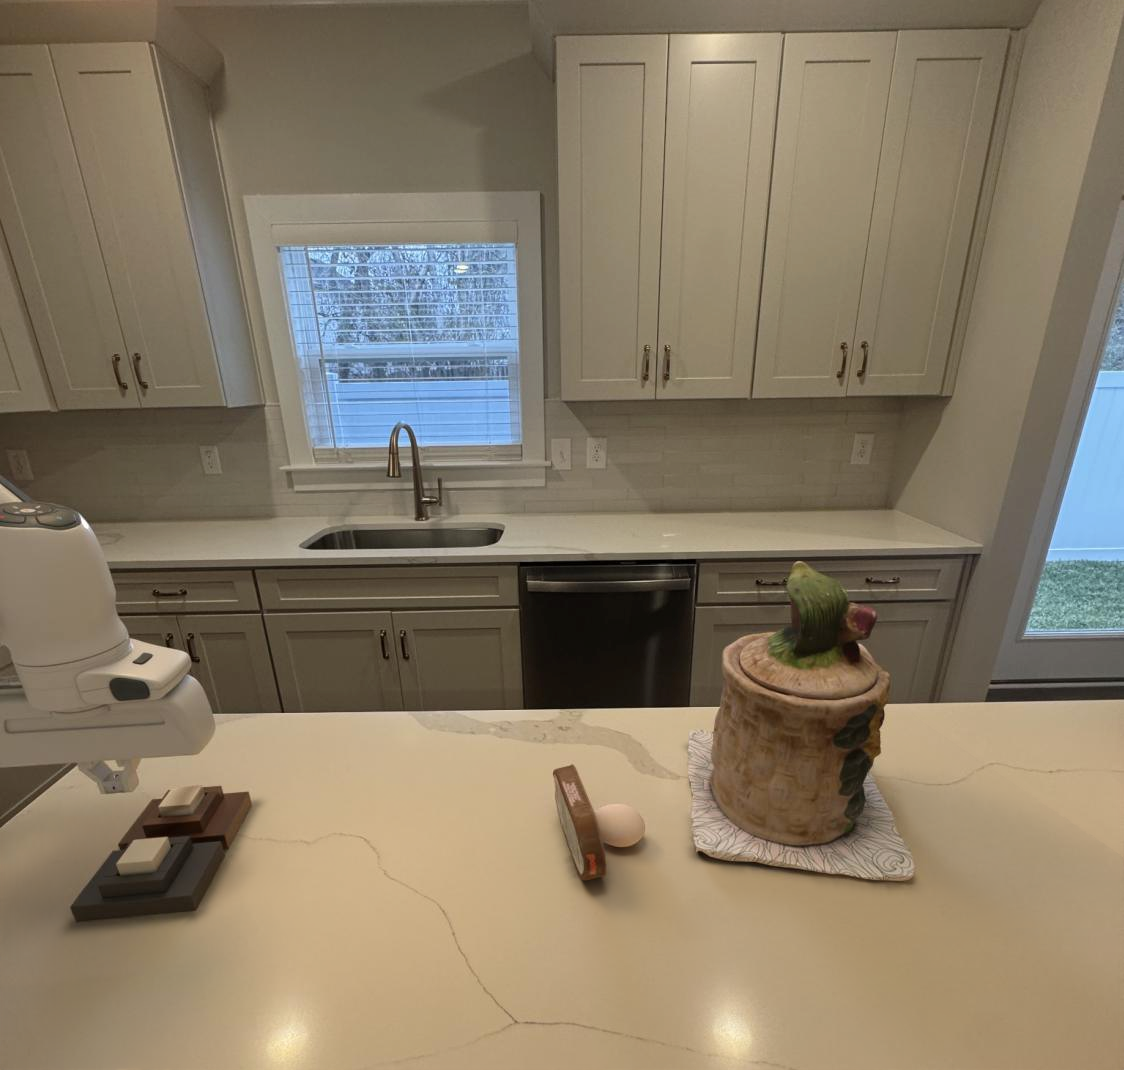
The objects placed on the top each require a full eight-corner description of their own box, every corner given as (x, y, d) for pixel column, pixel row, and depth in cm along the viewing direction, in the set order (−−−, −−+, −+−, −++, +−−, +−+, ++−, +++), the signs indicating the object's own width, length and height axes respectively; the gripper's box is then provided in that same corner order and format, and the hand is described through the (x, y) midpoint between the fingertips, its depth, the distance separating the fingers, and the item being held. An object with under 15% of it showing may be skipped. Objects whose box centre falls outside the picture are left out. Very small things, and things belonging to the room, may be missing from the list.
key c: (120, 876, 66) (115, 864, 65) (137, 851, 69) (133, 839, 68) (155, 873, 66) (151, 860, 65) (171, 848, 69) (167, 836, 69)
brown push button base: (122, 858, 73) (113, 832, 71) (156, 812, 80) (148, 787, 79) (228, 849, 74) (221, 822, 73) (252, 804, 81) (245, 780, 80)
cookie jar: (690, 862, 71) (711, 606, 59) (685, 740, 93) (700, 537, 81) (920, 888, 67) (993, 619, 55) (858, 755, 90) (900, 543, 78)
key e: (161, 818, 74) (157, 806, 73) (175, 798, 77) (172, 787, 77) (193, 816, 74) (189, 804, 74) (205, 796, 78) (202, 785, 77)
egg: (642, 859, 71) (585, 851, 73) (645, 833, 76) (592, 825, 77) (644, 823, 70) (586, 816, 71) (647, 799, 74) (593, 792, 76)
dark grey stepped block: (75, 922, 65) (63, 894, 63) (118, 865, 72) (108, 838, 70) (195, 910, 66) (186, 882, 64) (225, 855, 73) (217, 828, 72)
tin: (608, 893, 67) (609, 832, 64) (580, 899, 66) (580, 838, 63) (574, 803, 81) (573, 750, 78) (550, 808, 80) (549, 753, 77)
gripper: (-65, 695, 55) (-10, 818, 60) (177, 682, 57) (209, 802, 62) (-12, 663, 61) (34, 777, 66) (205, 652, 63) (233, 764, 68)
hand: (121, 789), depth 64 cm, fingers closed
